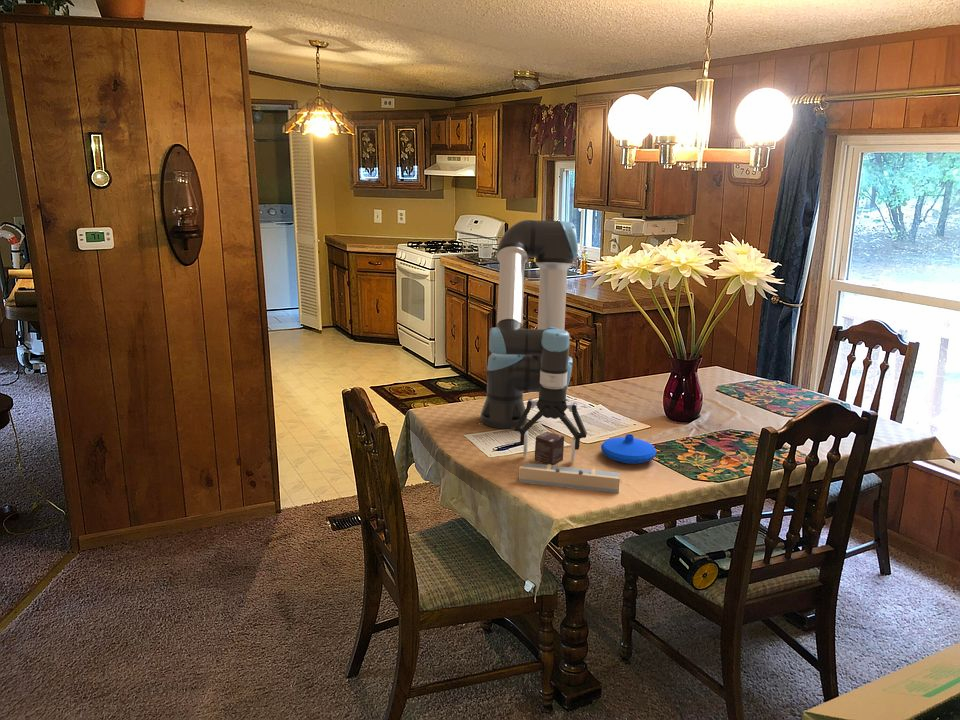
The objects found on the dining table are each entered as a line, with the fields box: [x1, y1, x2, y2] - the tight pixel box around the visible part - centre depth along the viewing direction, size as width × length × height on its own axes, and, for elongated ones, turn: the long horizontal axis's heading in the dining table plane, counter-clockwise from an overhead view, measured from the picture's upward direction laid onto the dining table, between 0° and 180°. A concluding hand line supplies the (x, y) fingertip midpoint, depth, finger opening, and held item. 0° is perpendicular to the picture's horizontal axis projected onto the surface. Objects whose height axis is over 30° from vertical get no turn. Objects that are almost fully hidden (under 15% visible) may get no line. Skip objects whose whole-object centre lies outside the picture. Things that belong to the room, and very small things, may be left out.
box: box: [534, 430, 565, 466], centre depth 212 cm, size 6×6×7 cm
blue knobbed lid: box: [600, 433, 657, 465], centre depth 216 cm, size 16×16×7 cm
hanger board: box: [518, 462, 621, 494], centre depth 200 cm, size 11×26×5 cm, turn 78°
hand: (548, 457), depth 213 cm, fingers open, 13 cm apart
